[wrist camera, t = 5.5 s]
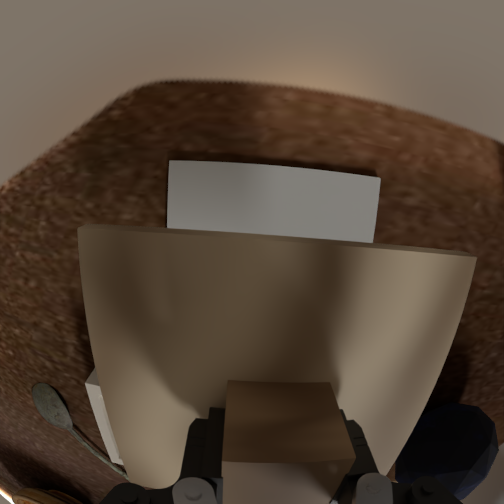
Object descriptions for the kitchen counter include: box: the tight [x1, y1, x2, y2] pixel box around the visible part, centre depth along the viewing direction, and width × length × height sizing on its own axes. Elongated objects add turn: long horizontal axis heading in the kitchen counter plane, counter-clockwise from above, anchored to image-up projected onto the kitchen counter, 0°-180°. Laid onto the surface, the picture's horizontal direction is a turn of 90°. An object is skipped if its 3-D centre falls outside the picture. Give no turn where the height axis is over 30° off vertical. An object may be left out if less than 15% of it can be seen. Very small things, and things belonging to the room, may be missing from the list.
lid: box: [78, 224, 477, 504], centre depth 10 cm, size 15×15×5 cm
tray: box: [167, 160, 381, 243], centre depth 28 cm, size 18×18×1 cm
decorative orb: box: [395, 402, 499, 500], centre depth 28 cm, size 14×15×15 cm
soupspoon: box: [32, 383, 130, 481], centre depth 34 cm, size 22×3×7 cm
